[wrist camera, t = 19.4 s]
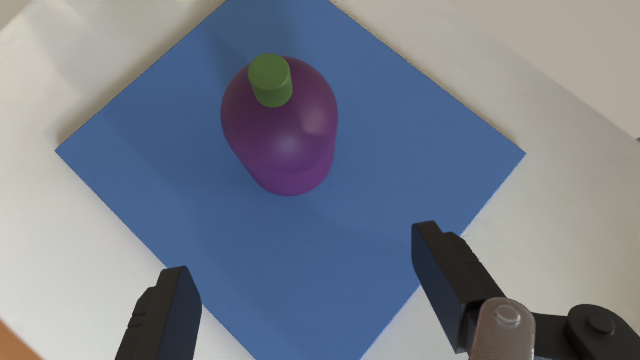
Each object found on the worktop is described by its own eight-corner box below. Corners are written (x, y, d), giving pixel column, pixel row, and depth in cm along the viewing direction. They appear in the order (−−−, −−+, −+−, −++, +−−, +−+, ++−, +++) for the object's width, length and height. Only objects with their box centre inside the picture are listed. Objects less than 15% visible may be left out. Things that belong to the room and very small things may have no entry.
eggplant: (324, 106, 21) (328, -4, 13) (341, 187, 20) (357, 127, 11) (240, 120, 21) (185, 18, 12) (252, 203, 20) (200, 154, 11)
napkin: (523, 155, 21) (526, 153, 20) (312, 415, 17) (312, 418, 17) (274, -37, 24) (274, -42, 24) (58, 152, 21) (53, 150, 20)
